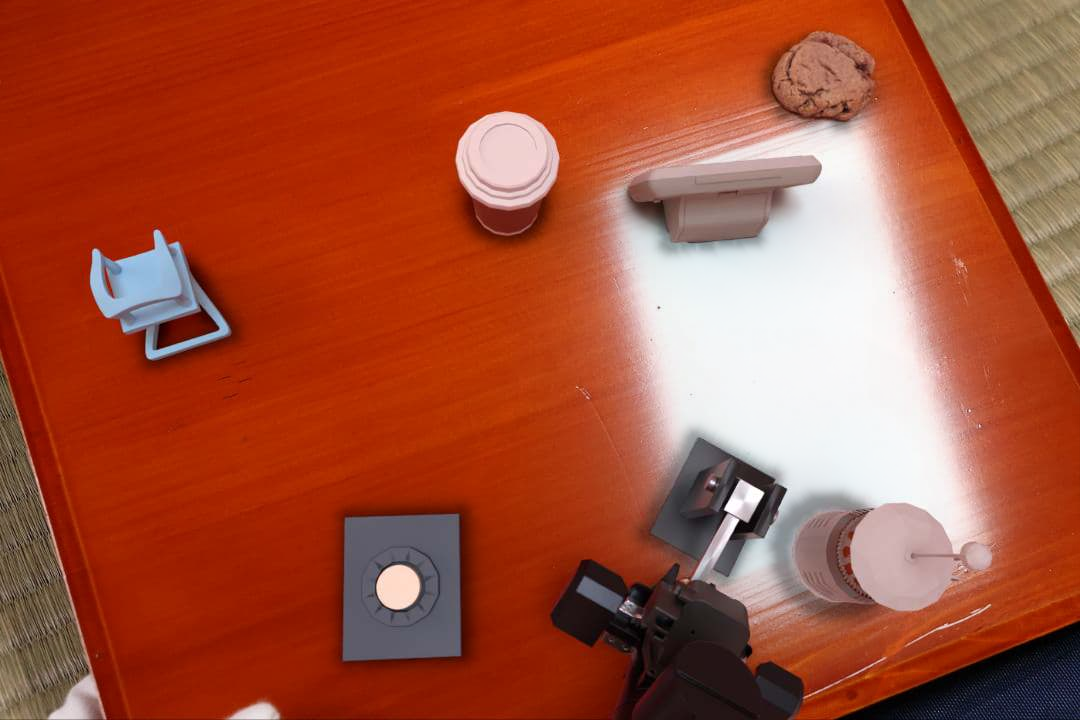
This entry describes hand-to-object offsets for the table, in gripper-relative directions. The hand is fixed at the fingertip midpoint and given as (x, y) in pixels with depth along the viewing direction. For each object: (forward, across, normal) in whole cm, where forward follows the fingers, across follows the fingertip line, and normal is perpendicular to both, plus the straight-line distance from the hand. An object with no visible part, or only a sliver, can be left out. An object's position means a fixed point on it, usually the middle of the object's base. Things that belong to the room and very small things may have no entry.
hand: (693, 576), depth 72 cm
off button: (-7, +21, +11) cm, 25 cm away
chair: (+4, +52, +6) cm, 53 cm away
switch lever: (+1, 0, -3) cm, 3 cm away
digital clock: (+29, +14, -18) cm, 37 cm away
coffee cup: (+22, +31, -11) cm, 39 cm away
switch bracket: (+10, 0, 0) cm, 10 cm away
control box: (-4, +21, +14) cm, 25 cm away
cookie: (+42, +9, -30) cm, 53 cm away
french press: (+11, -13, -1) cm, 17 cm away
